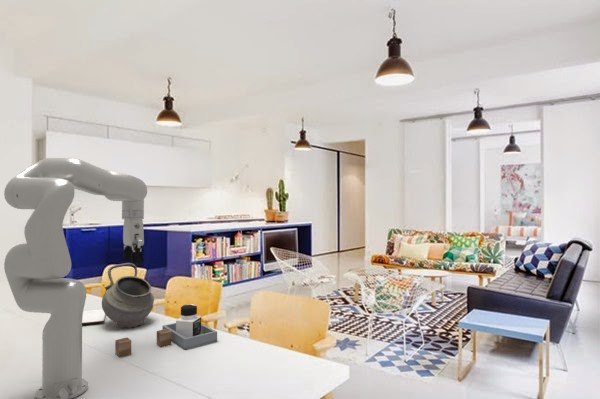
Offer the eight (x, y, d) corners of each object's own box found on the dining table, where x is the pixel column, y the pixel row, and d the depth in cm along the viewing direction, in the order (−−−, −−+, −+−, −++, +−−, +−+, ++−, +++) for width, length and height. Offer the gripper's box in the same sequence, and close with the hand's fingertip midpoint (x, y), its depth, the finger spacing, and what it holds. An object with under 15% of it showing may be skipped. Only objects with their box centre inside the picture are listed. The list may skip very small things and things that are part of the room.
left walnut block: (131, 354, 139) (131, 340, 138) (119, 357, 136) (119, 343, 136) (127, 351, 141) (127, 337, 141) (115, 354, 139) (115, 340, 139)
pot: (104, 319, 178) (104, 263, 178) (153, 314, 185) (154, 260, 185) (98, 334, 158) (99, 271, 158) (154, 328, 166) (154, 268, 166)
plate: (103, 324, 171) (103, 320, 171) (53, 330, 164) (53, 325, 164) (106, 313, 188) (106, 308, 188) (60, 317, 181) (60, 312, 181)
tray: (217, 341, 152) (217, 331, 152) (184, 350, 143) (184, 339, 143) (193, 328, 167) (193, 319, 167) (162, 335, 158) (162, 325, 158)
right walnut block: (171, 344, 148) (171, 331, 148) (160, 347, 145) (160, 333, 145) (167, 341, 151) (167, 328, 151) (156, 344, 148) (156, 330, 148)
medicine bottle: (193, 340, 150) (193, 308, 150) (175, 338, 152) (175, 307, 152) (201, 334, 157) (201, 303, 157) (184, 332, 159) (184, 302, 159)
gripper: (151, 215, 144) (150, 263, 144) (136, 214, 157) (135, 258, 157) (129, 215, 139) (128, 265, 139) (115, 214, 153) (114, 259, 152)
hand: (132, 261), depth 148 cm, fingers open, 9 cm apart
